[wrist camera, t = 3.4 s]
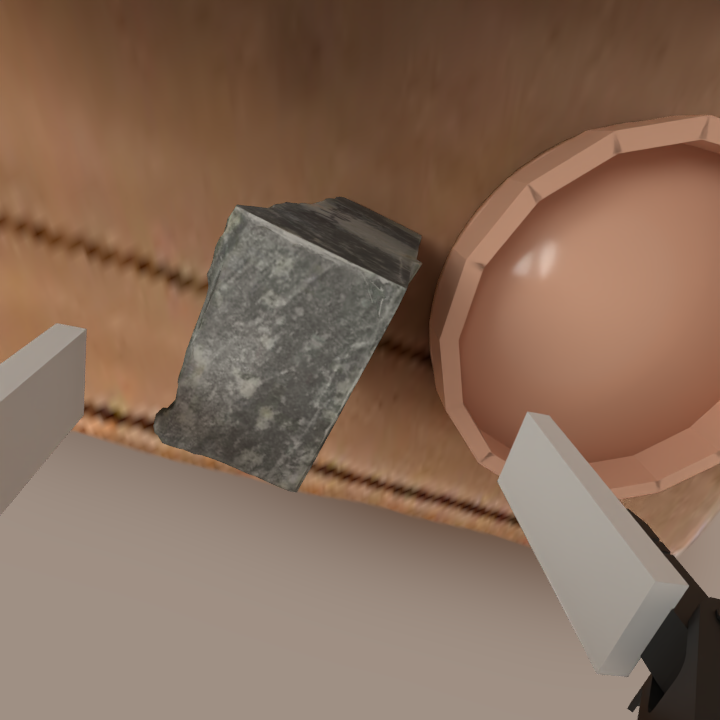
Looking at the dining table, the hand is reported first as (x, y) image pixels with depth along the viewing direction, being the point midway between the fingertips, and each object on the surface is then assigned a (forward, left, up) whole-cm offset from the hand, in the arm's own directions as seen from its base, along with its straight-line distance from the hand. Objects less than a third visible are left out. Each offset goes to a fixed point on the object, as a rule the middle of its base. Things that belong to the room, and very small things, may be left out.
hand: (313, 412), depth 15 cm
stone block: (0, 0, -15) cm, 15 cm away
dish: (+18, +1, -15) cm, 23 cm away
